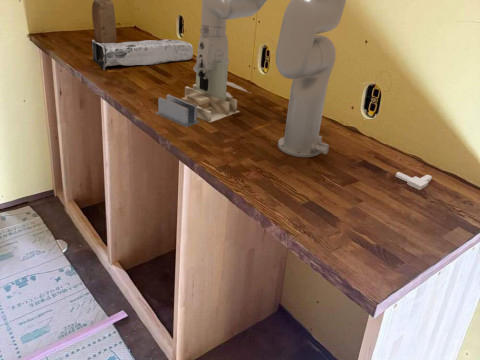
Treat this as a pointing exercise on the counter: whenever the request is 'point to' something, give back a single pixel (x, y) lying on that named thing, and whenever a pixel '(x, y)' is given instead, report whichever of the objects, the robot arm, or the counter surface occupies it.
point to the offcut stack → (198, 101)
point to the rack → (214, 106)
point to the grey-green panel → (216, 81)
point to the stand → (177, 111)
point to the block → (104, 21)
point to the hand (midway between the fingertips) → (210, 87)
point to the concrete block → (140, 52)
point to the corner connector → (415, 180)
